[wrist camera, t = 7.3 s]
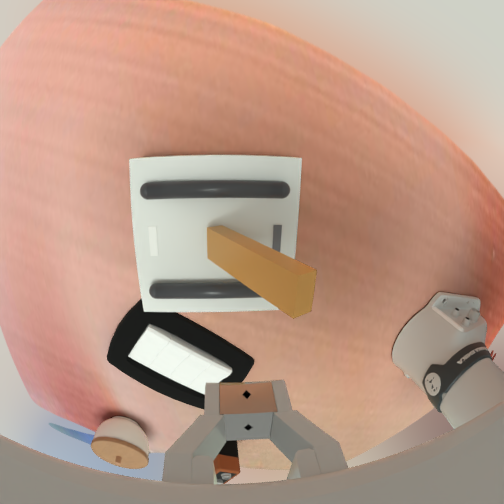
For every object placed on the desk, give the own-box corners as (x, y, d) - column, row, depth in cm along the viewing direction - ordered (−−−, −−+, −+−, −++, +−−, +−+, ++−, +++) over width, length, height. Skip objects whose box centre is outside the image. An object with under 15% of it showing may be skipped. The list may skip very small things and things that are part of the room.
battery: (202, 444, 47) (203, 485, 37) (216, 429, 45) (218, 473, 36) (221, 448, 48) (224, 488, 38) (237, 434, 46) (242, 477, 37)
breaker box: (289, 156, 30) (307, 158, 24) (280, 288, 36) (293, 317, 29) (142, 157, 28) (124, 159, 22) (152, 290, 34) (140, 319, 28)
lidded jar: (141, 444, 46) (136, 480, 37) (94, 424, 42) (84, 459, 34) (160, 424, 43) (156, 465, 34) (107, 400, 40) (95, 441, 31)
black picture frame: (265, 364, 38) (211, 419, 40) (261, 353, 41) (210, 407, 42) (138, 293, 32) (97, 364, 34) (142, 284, 35) (102, 353, 36)
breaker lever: (222, 225, 27) (316, 269, 17) (222, 255, 28) (311, 311, 18) (206, 227, 26) (298, 275, 17) (207, 258, 27) (293, 318, 18)
